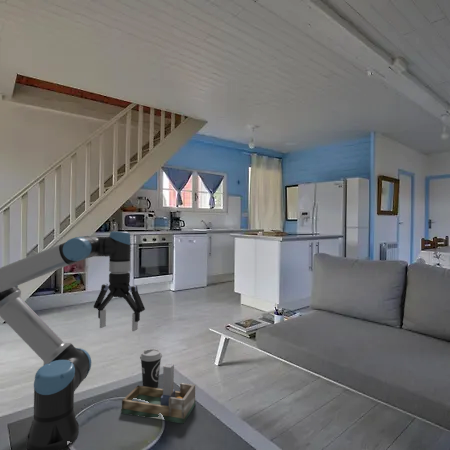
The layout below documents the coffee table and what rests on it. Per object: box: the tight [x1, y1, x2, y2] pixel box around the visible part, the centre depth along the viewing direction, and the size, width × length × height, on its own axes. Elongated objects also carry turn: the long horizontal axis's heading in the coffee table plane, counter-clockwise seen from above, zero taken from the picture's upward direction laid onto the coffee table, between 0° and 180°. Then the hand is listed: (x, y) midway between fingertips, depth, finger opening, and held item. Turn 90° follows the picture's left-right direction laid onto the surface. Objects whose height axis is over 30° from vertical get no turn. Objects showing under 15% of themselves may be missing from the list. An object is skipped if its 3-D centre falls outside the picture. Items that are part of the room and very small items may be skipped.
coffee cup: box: [139, 348, 163, 388], centre depth 140 cm, size 10×10×15 cm
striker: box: [161, 363, 176, 406], centre depth 122 cm, size 3×7×15 cm, turn 166°
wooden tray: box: [120, 382, 196, 425], centre depth 123 cm, size 25×13×8 cm, turn 76°
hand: (118, 328), depth 120 cm, fingers open, 13 cm apart
